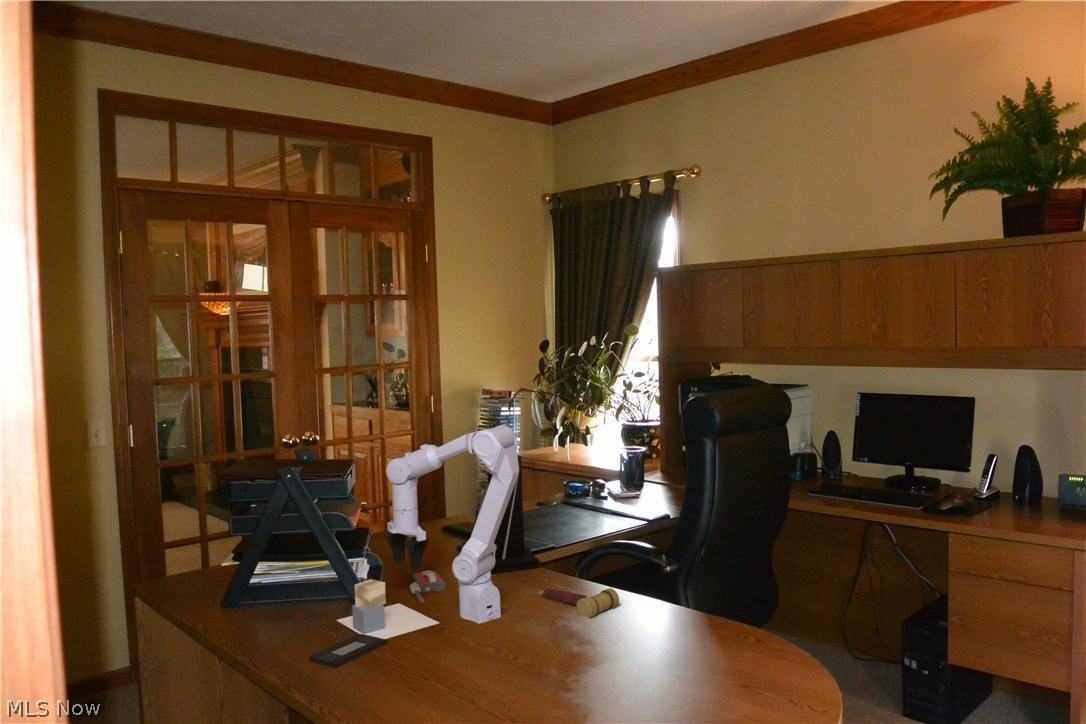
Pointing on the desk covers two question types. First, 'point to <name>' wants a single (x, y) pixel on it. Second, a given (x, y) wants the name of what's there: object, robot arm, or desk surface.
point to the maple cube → (370, 594)
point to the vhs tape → (347, 650)
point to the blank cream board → (396, 621)
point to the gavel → (585, 600)
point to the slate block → (368, 619)
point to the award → (510, 532)
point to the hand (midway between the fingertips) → (407, 565)
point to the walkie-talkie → (426, 583)
